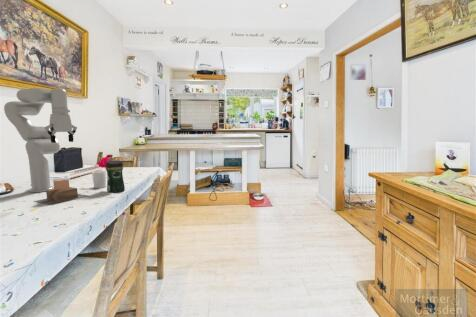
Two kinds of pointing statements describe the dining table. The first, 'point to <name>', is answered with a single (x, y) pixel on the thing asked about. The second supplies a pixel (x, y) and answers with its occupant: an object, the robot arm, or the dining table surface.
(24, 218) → the dining table surface
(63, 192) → the walnut base block
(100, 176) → the white cup
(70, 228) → the dining table surface
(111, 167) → the coffee jar
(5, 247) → the dining table surface
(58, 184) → the terracotta cube
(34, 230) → the dining table surface
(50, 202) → the charcoal board
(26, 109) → the robot arm
